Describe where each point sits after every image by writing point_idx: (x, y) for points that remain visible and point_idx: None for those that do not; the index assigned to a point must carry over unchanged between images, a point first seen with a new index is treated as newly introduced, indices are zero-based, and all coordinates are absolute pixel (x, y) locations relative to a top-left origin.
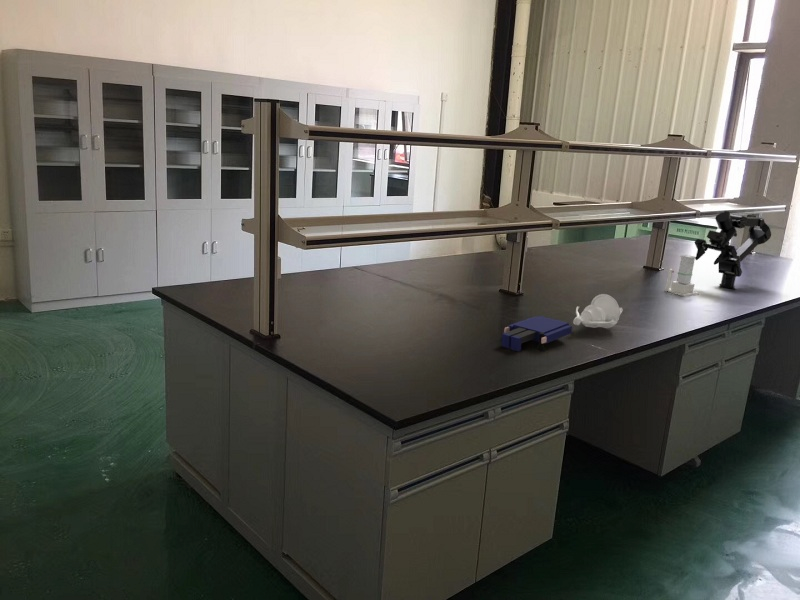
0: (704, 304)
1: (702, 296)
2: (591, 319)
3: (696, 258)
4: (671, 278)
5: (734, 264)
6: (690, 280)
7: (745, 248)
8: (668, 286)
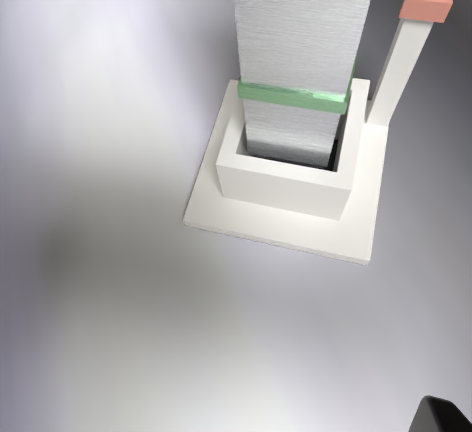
0: (90, 35)
1: (151, 198)
2: None
3: (427, 413)
4: (389, 61)
5: None
6: (247, 128)
7: None
8: (374, 93)
